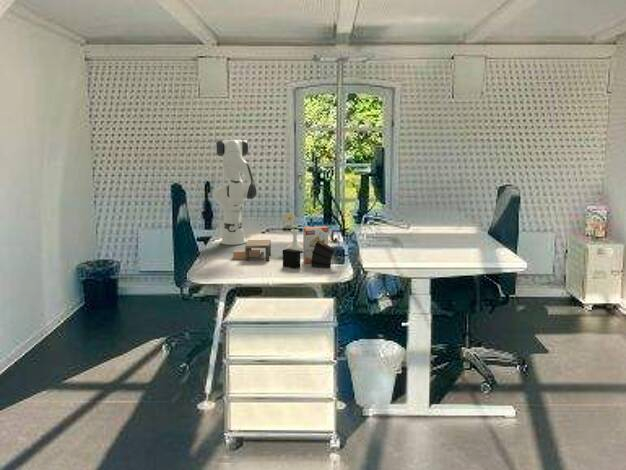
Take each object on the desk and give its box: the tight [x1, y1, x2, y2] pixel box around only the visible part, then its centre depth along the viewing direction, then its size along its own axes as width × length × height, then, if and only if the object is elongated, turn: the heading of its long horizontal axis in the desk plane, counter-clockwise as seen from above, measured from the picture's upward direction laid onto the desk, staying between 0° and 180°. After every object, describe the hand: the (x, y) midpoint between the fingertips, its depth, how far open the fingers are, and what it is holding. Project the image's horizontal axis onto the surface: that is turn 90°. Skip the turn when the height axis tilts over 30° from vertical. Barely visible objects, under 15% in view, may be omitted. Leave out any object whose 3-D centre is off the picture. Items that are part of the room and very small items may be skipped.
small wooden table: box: [244, 239, 272, 262], centre depth 416 cm, size 19×14×10 cm
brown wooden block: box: [232, 249, 261, 260], centre depth 417 cm, size 6×16×4 cm, turn 90°
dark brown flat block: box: [310, 241, 336, 269], centre depth 390 cm, size 4×13×15 cm, turn 75°
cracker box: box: [302, 225, 329, 264], centre depth 403 cm, size 14×6×21 cm, turn 105°
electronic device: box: [282, 248, 301, 270], centre depth 391 cm, size 4×10×10 cm, turn 49°
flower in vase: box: [282, 212, 303, 252], centre depth 434 cm, size 13×11×25 cm
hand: (237, 228), depth 415 cm, fingers open, 8 cm apart
